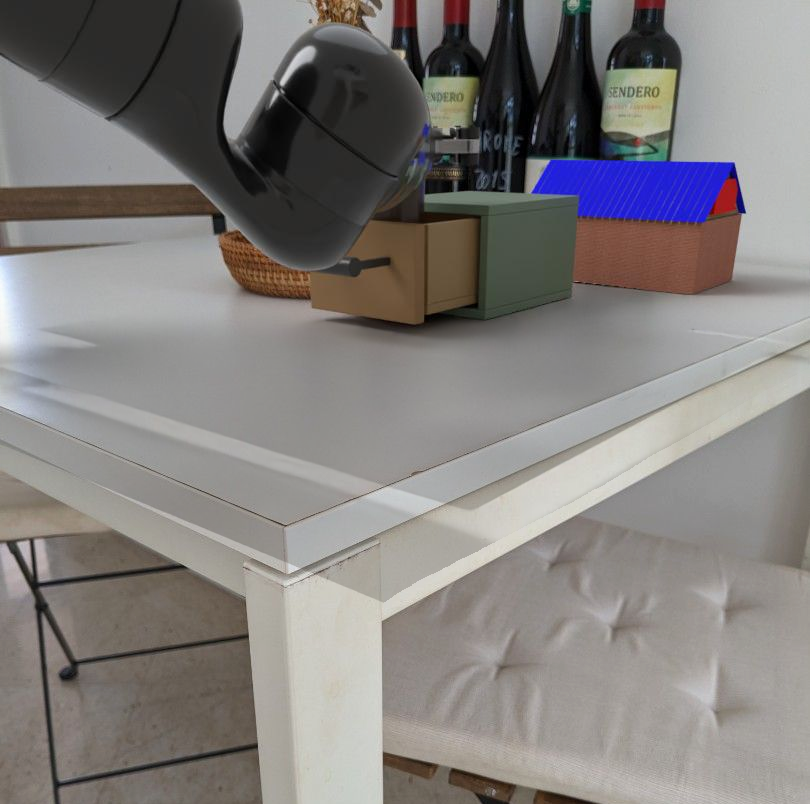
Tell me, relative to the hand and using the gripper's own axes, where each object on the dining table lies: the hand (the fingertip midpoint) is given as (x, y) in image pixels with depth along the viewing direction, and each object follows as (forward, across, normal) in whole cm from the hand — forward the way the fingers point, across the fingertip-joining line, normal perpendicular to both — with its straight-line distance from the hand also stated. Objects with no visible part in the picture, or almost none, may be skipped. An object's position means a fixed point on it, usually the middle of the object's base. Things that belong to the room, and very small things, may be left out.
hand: (399, 145), depth 70 cm
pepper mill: (-3, 0, -12) cm, 12 cm away
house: (+22, +22, -14) cm, 34 cm away
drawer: (-3, 0, -13) cm, 13 cm away
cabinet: (+7, +6, -14) cm, 16 cm away
